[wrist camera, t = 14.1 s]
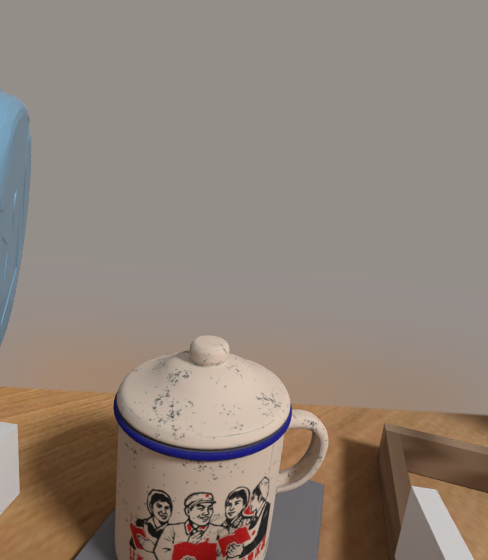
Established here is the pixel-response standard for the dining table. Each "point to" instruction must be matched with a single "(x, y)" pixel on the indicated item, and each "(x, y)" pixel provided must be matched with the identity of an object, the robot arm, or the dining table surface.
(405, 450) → the walnut box
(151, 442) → the teacup with lid
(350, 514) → the dining table surface
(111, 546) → the charcoal mat
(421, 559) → the robot arm
